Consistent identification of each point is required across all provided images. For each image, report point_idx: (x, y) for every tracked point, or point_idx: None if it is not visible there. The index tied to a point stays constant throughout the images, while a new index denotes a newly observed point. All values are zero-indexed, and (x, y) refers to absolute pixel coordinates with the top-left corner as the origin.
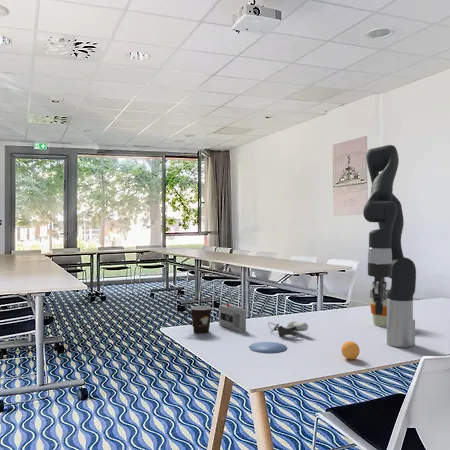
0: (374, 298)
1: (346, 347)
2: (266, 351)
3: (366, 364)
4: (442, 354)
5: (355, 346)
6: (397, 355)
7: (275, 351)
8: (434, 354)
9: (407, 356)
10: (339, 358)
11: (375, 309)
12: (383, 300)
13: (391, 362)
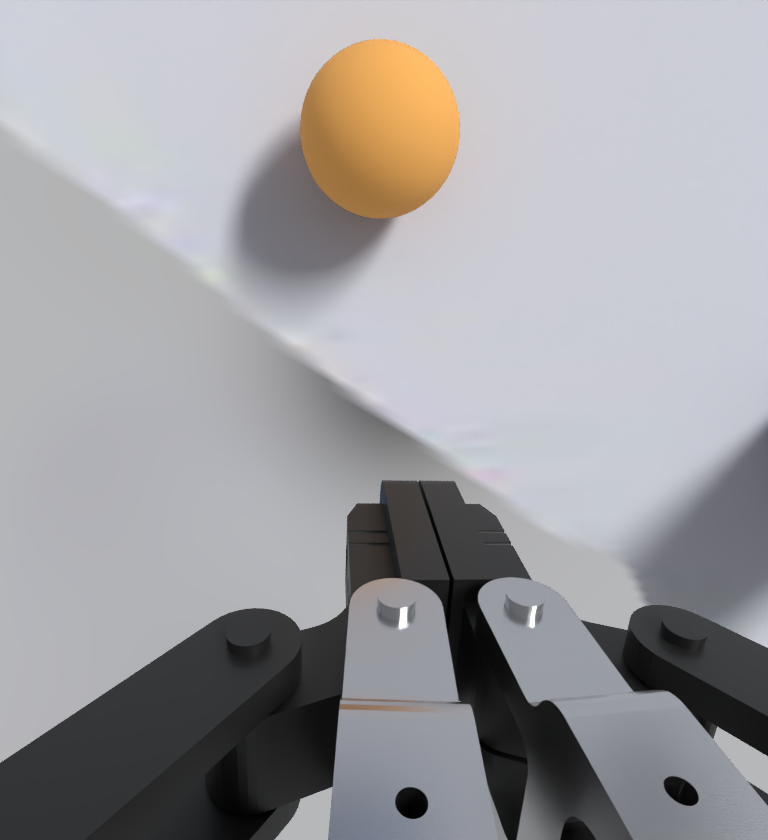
0: (104, 718)
1: (312, 97)
2: None
3: (300, 282)
4: None
5: (345, 183)
6: (591, 445)
7: None
8: None
9: (588, 501)
10: None
11: (390, 510)
12: (496, 753)
13: (420, 428)
